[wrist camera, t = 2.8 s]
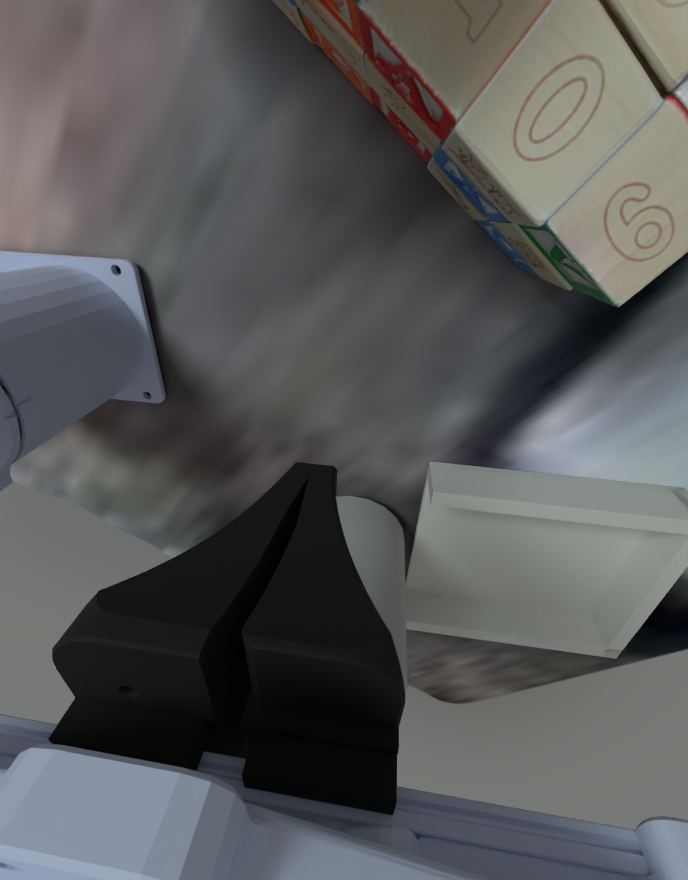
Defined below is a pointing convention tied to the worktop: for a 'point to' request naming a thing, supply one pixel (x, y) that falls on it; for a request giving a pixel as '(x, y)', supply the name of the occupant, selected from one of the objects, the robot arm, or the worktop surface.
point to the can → (379, 562)
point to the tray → (542, 557)
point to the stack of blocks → (536, 121)
